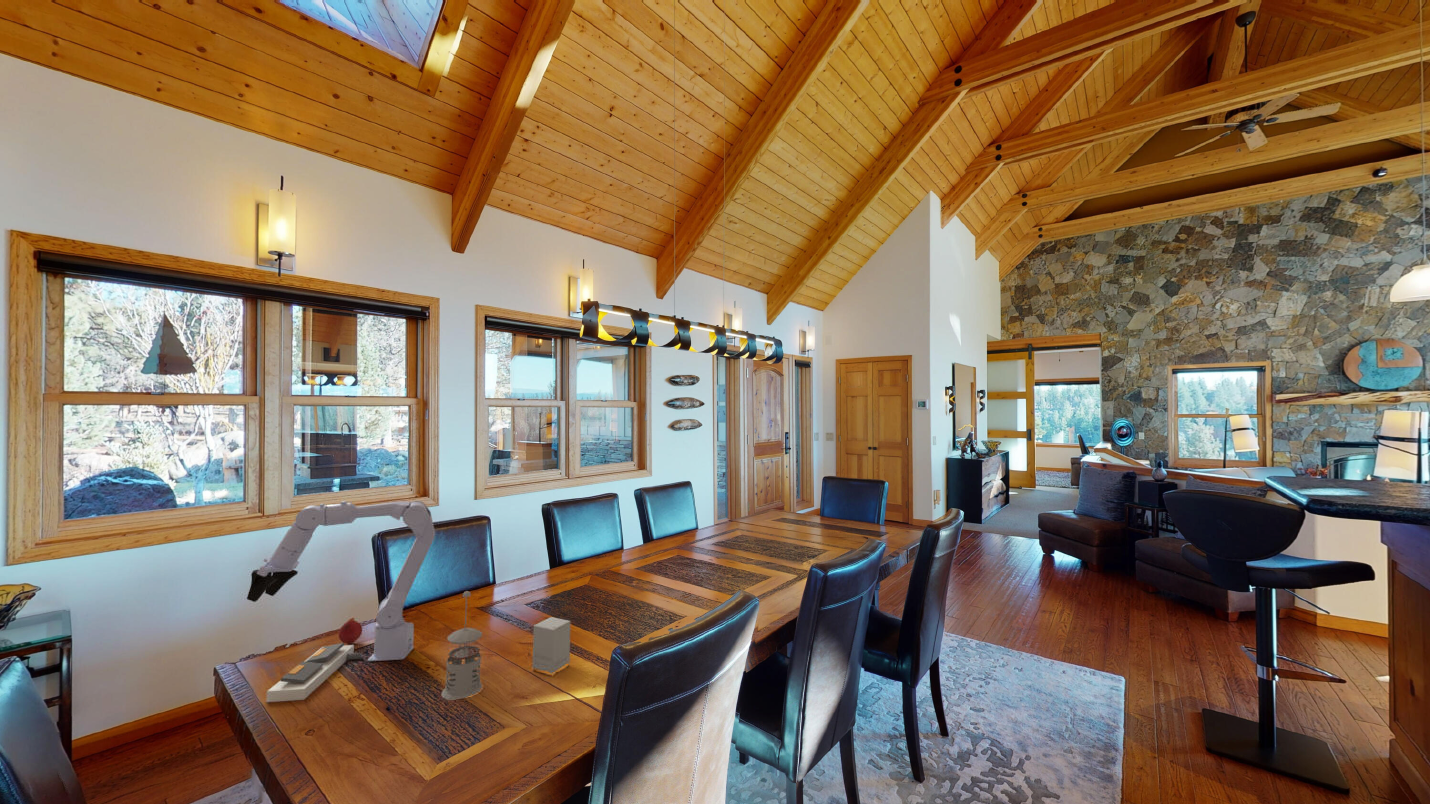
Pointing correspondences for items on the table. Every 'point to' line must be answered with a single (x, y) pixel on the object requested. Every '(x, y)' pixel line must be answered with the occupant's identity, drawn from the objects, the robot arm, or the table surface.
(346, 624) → the onion
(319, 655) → the rocker
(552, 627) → the supplement box
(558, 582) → the table surface
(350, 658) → the rocker switch panel
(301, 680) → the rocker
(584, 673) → the table surface
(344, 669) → the table surface
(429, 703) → the table surface
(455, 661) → the french press
